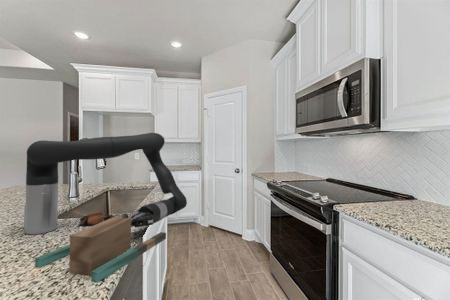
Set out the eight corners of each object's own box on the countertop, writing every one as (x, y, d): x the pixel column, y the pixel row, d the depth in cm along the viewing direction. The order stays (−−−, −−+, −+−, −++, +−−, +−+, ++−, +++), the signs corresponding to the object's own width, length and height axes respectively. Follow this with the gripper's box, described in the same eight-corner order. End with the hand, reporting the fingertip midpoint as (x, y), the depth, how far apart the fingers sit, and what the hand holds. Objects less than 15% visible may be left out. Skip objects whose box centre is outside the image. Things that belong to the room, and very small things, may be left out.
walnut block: (69, 272, 54) (70, 235, 54) (113, 245, 70) (113, 217, 70) (91, 275, 53) (91, 237, 53) (130, 247, 68) (131, 218, 69)
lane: (35, 265, 57) (35, 258, 57) (117, 231, 82) (117, 225, 82) (97, 282, 50) (98, 273, 50) (165, 238, 76) (165, 232, 76)
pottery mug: (77, 242, 73) (73, 218, 76) (85, 244, 81) (81, 222, 84) (116, 228, 78) (111, 206, 81) (120, 231, 86) (115, 211, 89)
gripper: (139, 201, 88) (102, 212, 72) (168, 204, 84) (136, 217, 67) (138, 220, 88) (102, 236, 71) (167, 224, 84) (135, 241, 67)
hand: (118, 226), depth 69 cm, fingers closed
